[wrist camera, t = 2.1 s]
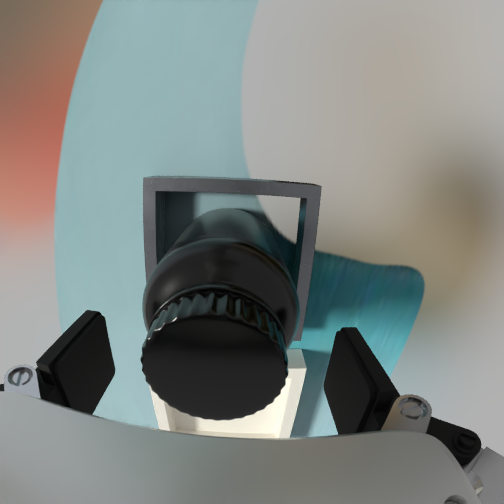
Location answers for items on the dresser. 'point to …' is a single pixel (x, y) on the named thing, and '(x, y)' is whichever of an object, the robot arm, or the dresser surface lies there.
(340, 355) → the robot arm
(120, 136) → the dresser surface
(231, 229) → the supplement bottle
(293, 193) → the frame
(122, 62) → the dresser surface
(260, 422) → the white square tray
